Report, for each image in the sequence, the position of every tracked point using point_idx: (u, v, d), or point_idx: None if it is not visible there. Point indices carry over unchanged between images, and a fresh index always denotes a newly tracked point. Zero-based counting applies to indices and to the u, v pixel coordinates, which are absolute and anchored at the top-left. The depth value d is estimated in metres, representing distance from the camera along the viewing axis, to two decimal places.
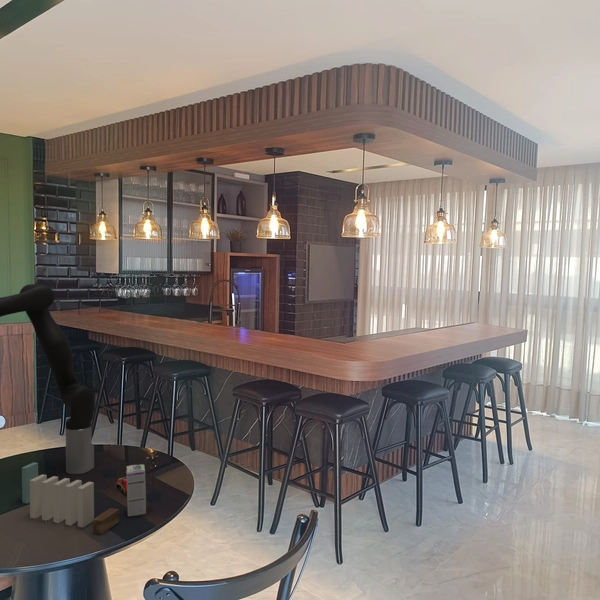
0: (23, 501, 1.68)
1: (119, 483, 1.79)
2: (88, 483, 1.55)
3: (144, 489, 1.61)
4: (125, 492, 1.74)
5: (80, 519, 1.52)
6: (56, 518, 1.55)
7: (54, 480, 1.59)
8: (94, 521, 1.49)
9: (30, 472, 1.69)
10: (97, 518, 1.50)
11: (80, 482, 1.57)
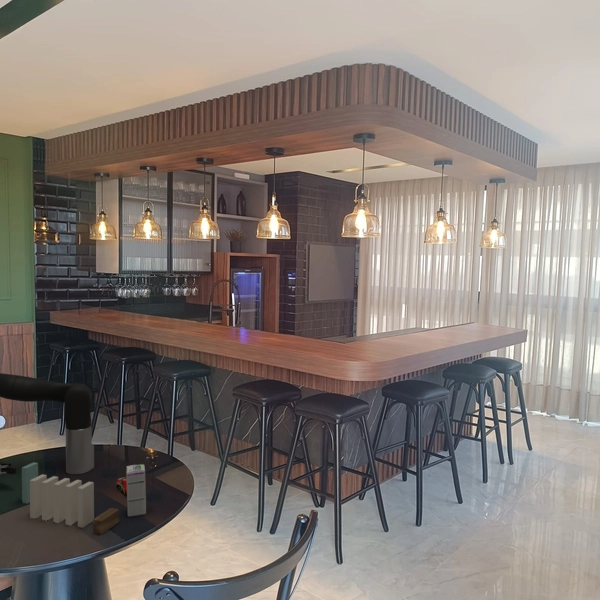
0: (23, 501, 1.68)
1: (119, 483, 1.79)
2: (88, 483, 1.55)
3: (144, 489, 1.61)
4: (125, 492, 1.74)
5: (80, 519, 1.52)
6: (56, 518, 1.55)
7: (54, 480, 1.59)
8: (94, 521, 1.49)
9: (30, 472, 1.69)
10: (97, 518, 1.50)
11: (80, 482, 1.57)
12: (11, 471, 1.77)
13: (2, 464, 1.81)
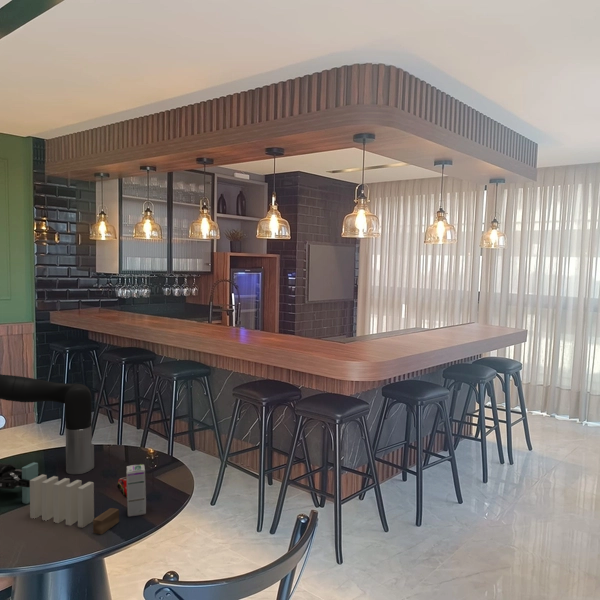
0: (23, 501, 1.68)
1: (119, 483, 1.79)
2: (88, 483, 1.55)
3: (144, 489, 1.61)
4: (124, 492, 1.74)
5: (80, 519, 1.52)
6: (56, 518, 1.55)
7: (54, 480, 1.59)
8: (94, 521, 1.49)
9: (30, 472, 1.69)
10: (97, 518, 1.50)
11: (80, 482, 1.57)
12: None
13: None
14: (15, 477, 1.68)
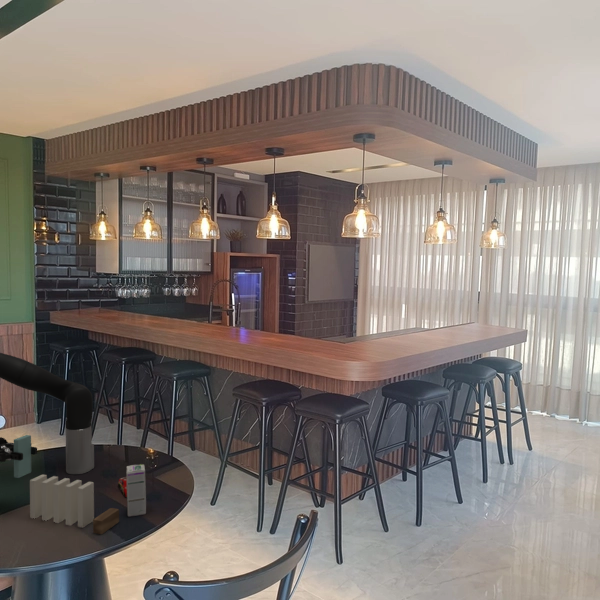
0: (15, 475, 1.59)
1: (120, 483, 1.79)
2: (88, 483, 1.55)
3: (144, 489, 1.61)
4: (124, 492, 1.74)
5: (80, 519, 1.52)
6: (56, 518, 1.55)
7: (54, 480, 1.59)
8: (94, 521, 1.49)
9: (22, 445, 1.60)
10: (97, 518, 1.50)
11: (80, 482, 1.57)
12: (32, 451, 1.63)
13: None
14: (7, 450, 1.59)
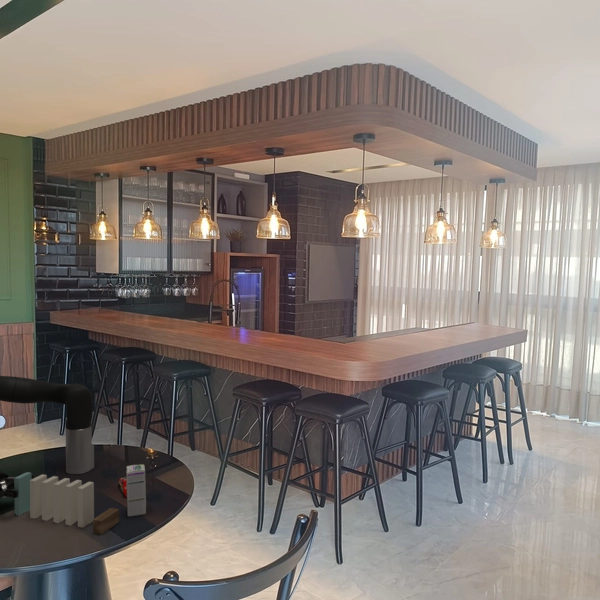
0: (16, 513, 1.59)
1: (120, 483, 1.79)
2: (88, 483, 1.55)
3: (144, 489, 1.61)
4: (123, 492, 1.74)
5: (80, 519, 1.52)
6: (56, 518, 1.55)
7: (54, 480, 1.59)
8: (94, 521, 1.49)
9: (23, 483, 1.60)
10: (97, 518, 1.50)
11: (80, 482, 1.57)
12: None
13: None
14: (3, 486, 1.59)
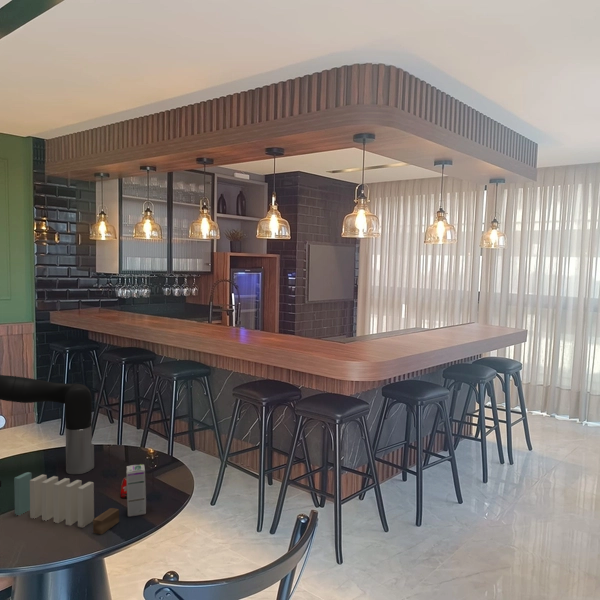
0: (16, 513, 1.59)
1: (122, 482, 1.80)
2: (88, 483, 1.55)
3: (144, 489, 1.61)
4: None
5: (80, 519, 1.52)
6: (56, 518, 1.55)
7: (54, 480, 1.59)
8: (94, 521, 1.49)
9: (23, 483, 1.60)
10: (97, 518, 1.50)
11: (80, 482, 1.57)
12: None
13: None
14: None
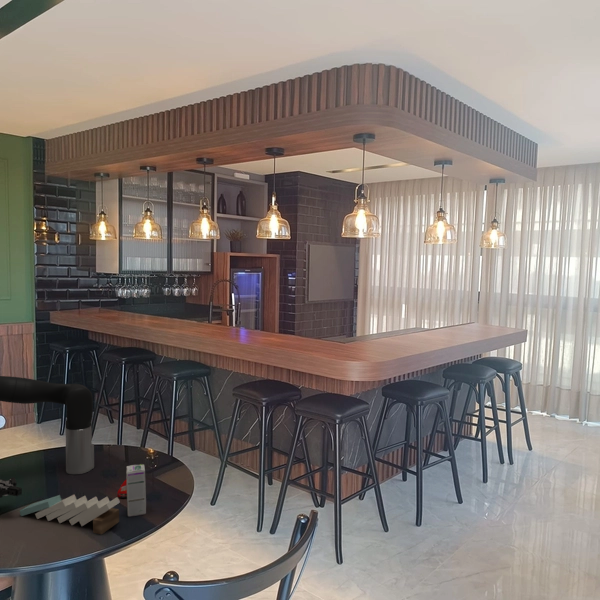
0: (21, 512, 1.59)
1: None
2: (116, 501, 1.53)
3: (144, 489, 1.61)
4: None
5: (85, 520, 1.52)
6: (61, 519, 1.54)
7: (82, 503, 1.56)
8: (94, 521, 1.49)
9: None
10: (97, 518, 1.50)
11: (107, 502, 1.55)
12: None
13: None
14: (1, 486, 1.59)
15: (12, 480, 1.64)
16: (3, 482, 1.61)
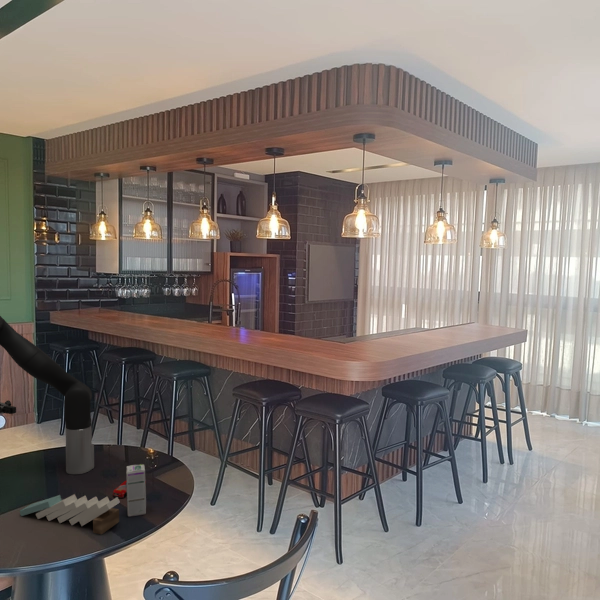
0: (21, 512, 1.59)
1: None
2: (116, 501, 1.53)
3: (144, 489, 1.61)
4: None
5: (85, 520, 1.52)
6: (62, 519, 1.54)
7: None
8: (94, 521, 1.49)
9: None
10: (97, 518, 1.50)
11: (107, 502, 1.55)
12: None
13: (6, 403, 1.77)
14: None
15: (7, 402, 1.77)
16: None
